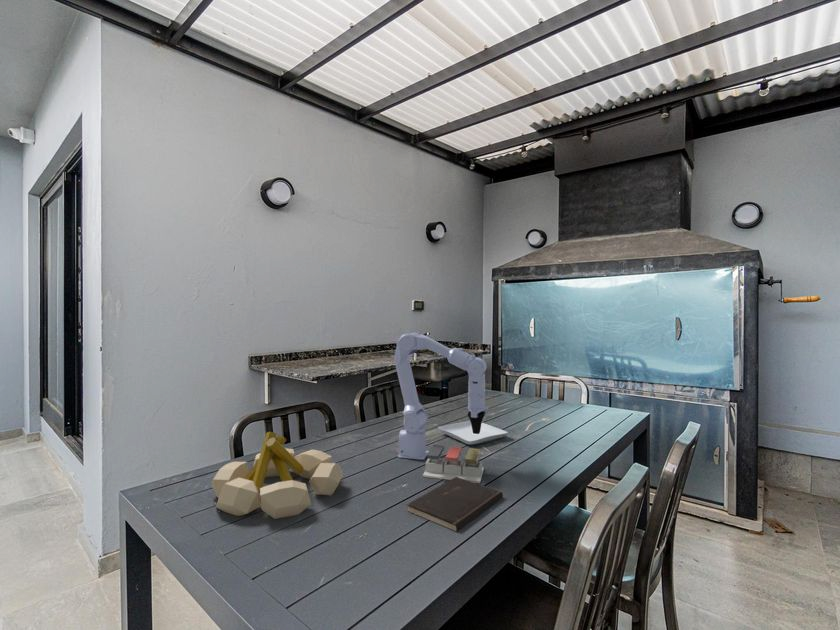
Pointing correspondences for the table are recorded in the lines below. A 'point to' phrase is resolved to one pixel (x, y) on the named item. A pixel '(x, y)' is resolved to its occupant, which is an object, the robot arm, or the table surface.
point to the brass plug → (472, 457)
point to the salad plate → (466, 434)
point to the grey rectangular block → (435, 453)
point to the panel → (453, 470)
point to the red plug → (453, 455)
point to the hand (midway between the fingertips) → (476, 433)
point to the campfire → (281, 498)
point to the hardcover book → (455, 503)
